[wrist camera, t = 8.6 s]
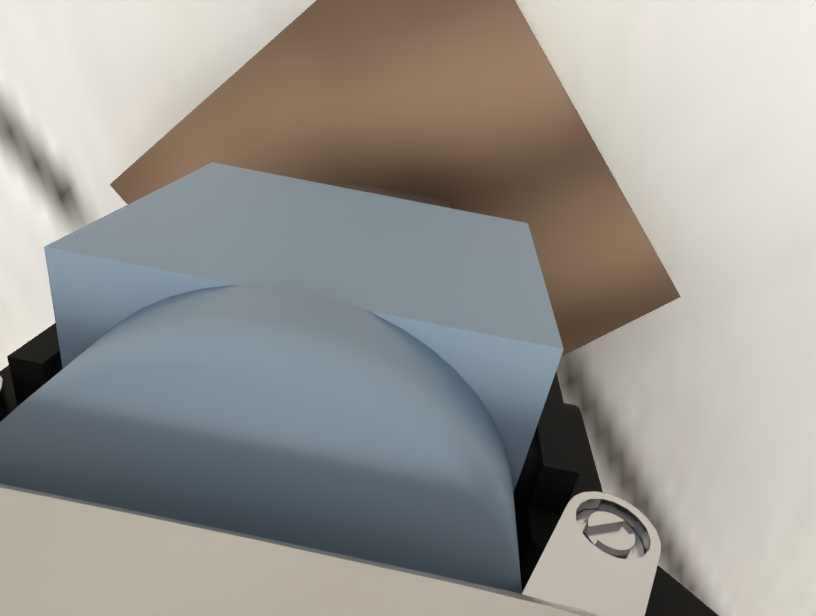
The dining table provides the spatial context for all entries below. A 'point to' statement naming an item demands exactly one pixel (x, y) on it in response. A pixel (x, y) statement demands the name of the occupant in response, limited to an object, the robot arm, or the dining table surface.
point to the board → (432, 139)
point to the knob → (298, 370)
